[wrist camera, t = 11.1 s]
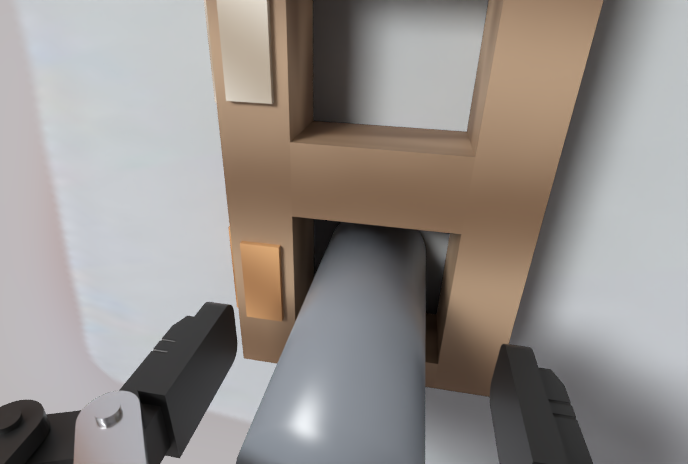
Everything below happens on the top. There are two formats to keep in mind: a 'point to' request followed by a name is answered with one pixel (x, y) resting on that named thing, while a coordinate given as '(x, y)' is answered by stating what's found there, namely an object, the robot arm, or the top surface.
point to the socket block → (394, 171)
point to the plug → (352, 359)
